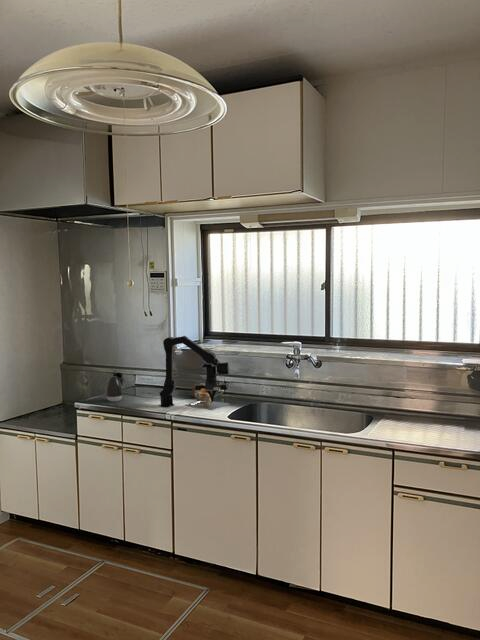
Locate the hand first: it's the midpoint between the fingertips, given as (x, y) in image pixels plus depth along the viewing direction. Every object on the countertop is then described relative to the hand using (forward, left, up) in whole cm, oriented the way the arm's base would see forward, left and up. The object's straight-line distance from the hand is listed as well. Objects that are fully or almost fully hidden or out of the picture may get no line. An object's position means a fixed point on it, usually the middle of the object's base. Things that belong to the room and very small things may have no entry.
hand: (212, 401), depth 316 cm
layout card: (-5, +2, -3) cm, 6 cm away
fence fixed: (-10, +6, -2) cm, 12 cm away
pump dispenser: (-60, -18, -3) cm, 63 cm away
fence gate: (-3, 0, -2) cm, 3 cm away
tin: (-22, +18, -3) cm, 28 cm away
